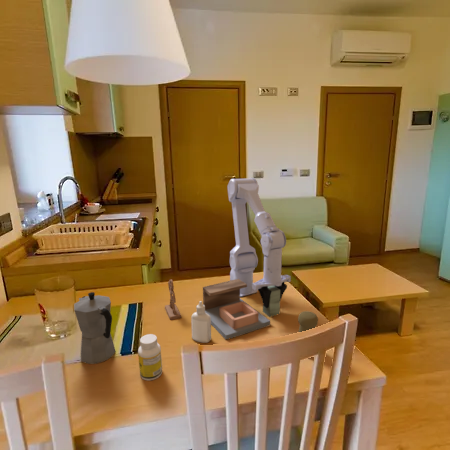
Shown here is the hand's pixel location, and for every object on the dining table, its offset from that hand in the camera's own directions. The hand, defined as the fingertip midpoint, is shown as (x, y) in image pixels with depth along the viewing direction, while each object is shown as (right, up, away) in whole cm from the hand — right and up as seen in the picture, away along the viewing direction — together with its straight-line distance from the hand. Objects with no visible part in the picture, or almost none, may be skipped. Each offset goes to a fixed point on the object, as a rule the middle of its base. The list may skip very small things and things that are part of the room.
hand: (271, 305), depth 104 cm
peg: (0, -3, +1) cm, 3 cm away
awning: (-16, -1, +2) cm, 16 cm away
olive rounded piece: (+7, -8, -19) cm, 22 cm away
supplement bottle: (-34, -10, -28) cm, 45 cm away
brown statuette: (-34, -3, +1) cm, 34 cm away
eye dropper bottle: (-23, -7, -14) cm, 27 cm away
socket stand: (-13, -4, -3) cm, 14 cm away
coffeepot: (-50, -8, -21) cm, 54 cm away
